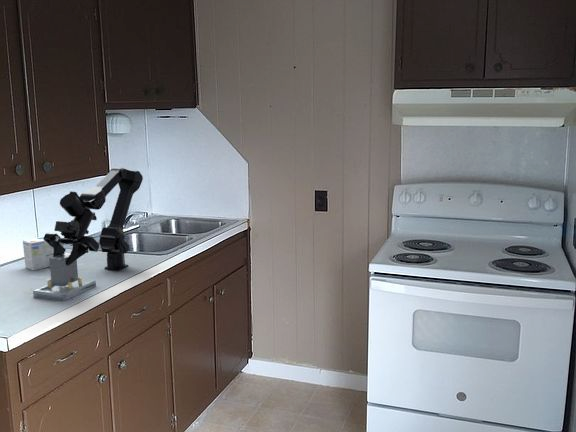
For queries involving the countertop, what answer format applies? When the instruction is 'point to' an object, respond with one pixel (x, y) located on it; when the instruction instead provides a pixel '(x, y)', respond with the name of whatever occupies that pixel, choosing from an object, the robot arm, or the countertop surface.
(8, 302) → the countertop surface
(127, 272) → the countertop surface
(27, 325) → the countertop surface
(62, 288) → the dock
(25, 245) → the light bulb box
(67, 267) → the block
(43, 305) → the countertop surface
